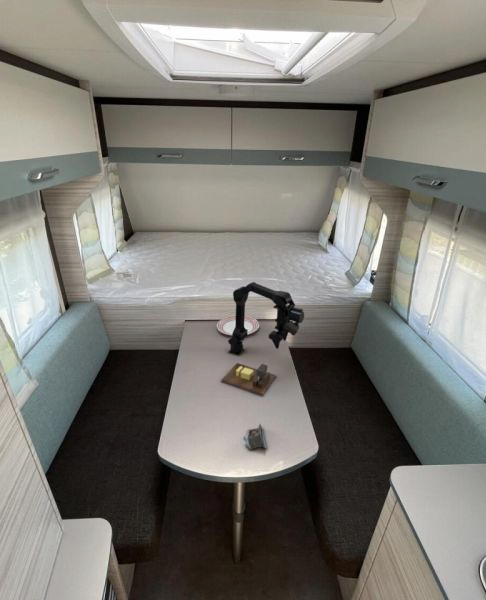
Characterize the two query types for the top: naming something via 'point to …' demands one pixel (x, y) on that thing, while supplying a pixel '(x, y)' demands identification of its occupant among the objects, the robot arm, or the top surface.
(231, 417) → the top surface
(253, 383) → the cutting board
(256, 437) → the grey irregular block
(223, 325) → the dinner plate
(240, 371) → the butter slice
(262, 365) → the dark grey block
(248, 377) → the butter stick
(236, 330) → the robot arm
